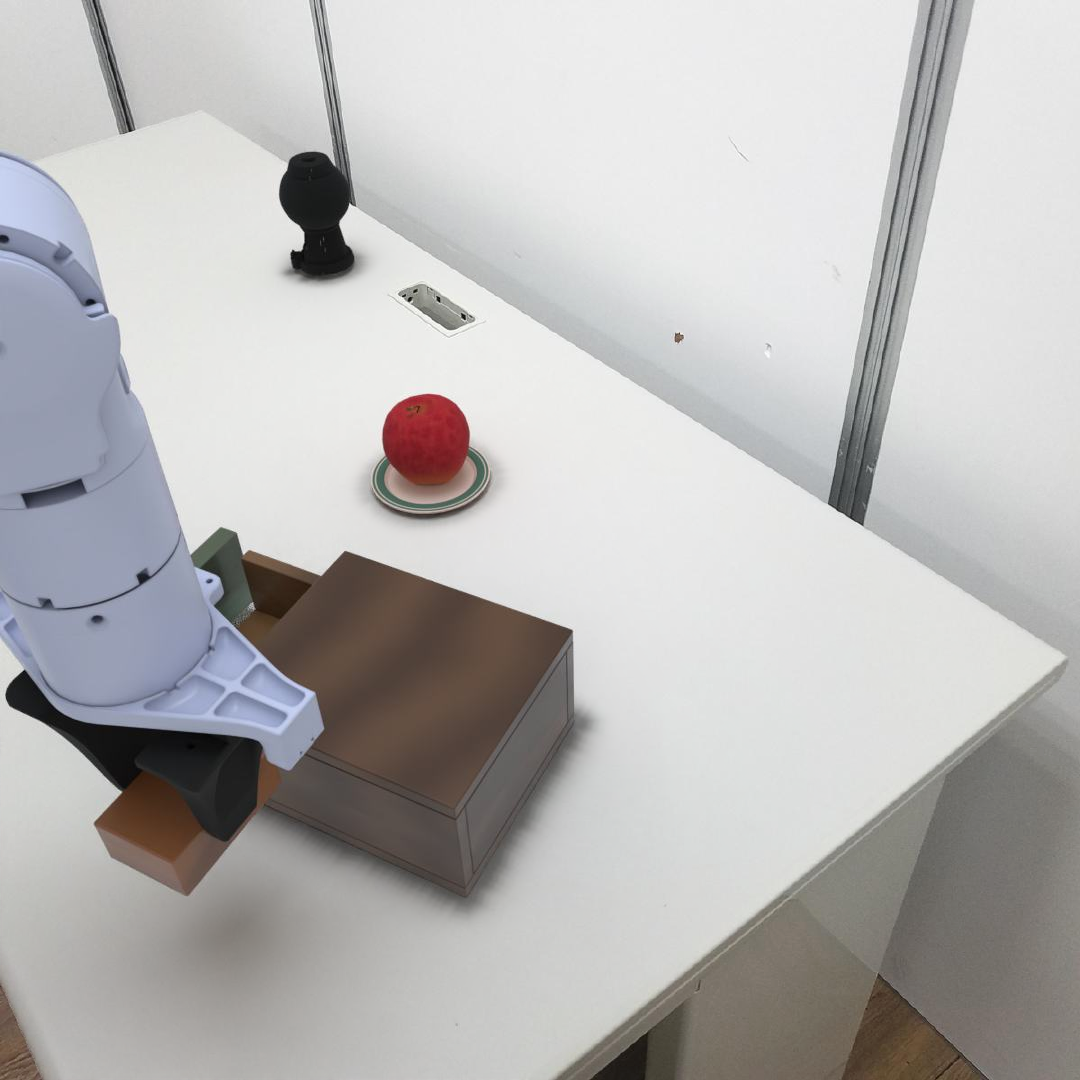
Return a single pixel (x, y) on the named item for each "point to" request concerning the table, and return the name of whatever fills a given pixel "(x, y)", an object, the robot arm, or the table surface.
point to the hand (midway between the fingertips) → (191, 798)
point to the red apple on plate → (428, 458)
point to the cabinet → (420, 715)
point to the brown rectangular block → (168, 830)
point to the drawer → (251, 583)
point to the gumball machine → (317, 212)
